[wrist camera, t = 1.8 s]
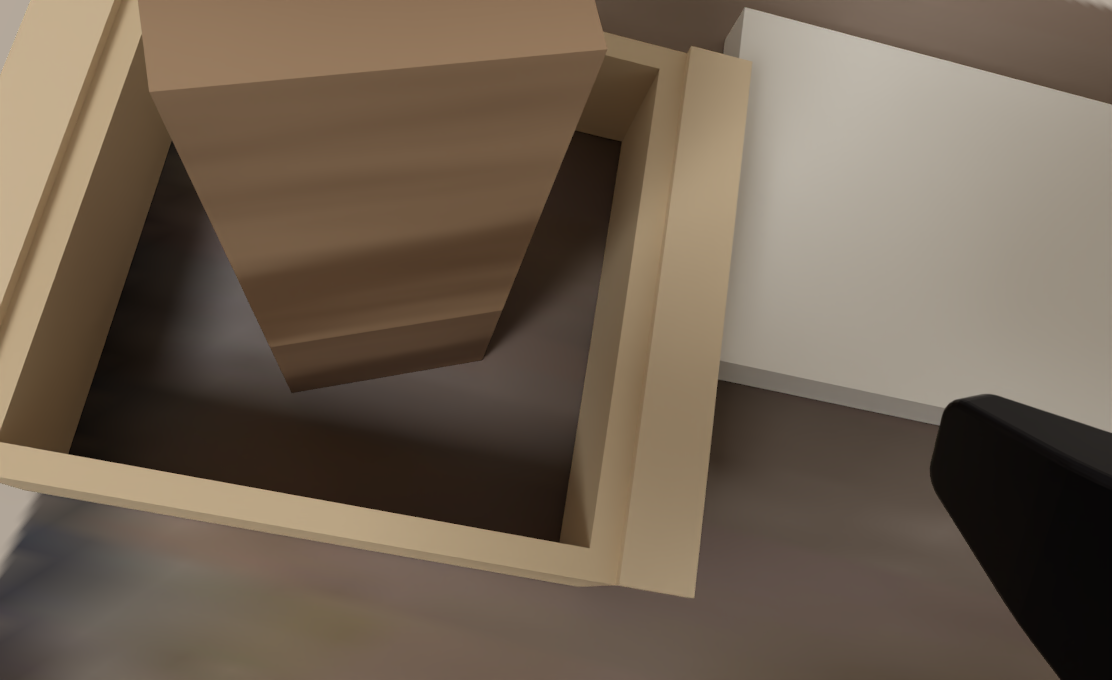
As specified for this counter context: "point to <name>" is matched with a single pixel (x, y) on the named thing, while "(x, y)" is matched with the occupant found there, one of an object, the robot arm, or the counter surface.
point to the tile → (916, 231)
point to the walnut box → (372, 161)
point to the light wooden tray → (578, 559)
